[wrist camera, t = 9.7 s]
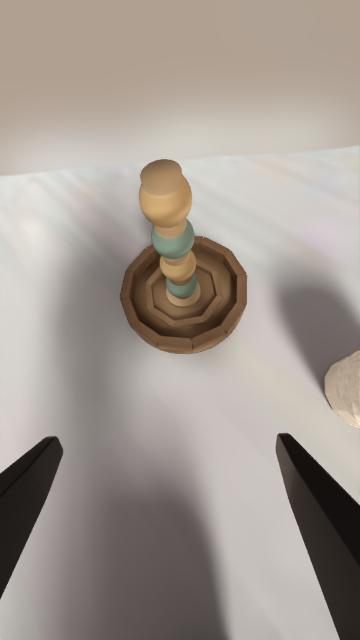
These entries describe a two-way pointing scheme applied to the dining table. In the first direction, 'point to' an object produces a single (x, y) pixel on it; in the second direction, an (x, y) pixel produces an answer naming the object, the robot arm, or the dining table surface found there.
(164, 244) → the post
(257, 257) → the dining table surface
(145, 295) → the groove tray
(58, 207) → the dining table surface
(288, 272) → the dining table surface
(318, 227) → the dining table surface
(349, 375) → the white cup
